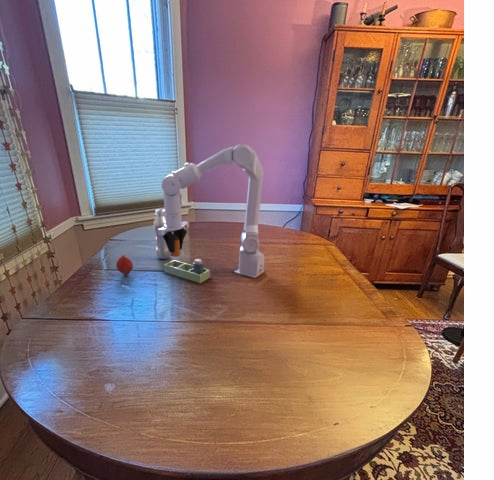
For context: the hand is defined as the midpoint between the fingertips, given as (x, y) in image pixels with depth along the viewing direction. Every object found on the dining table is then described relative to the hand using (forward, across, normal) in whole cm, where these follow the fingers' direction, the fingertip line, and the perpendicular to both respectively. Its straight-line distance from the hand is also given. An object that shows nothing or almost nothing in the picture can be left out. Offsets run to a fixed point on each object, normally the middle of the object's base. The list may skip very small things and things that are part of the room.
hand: (175, 250), depth 112 cm
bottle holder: (+9, +1, +6) cm, 10 cm away
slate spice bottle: (+8, +1, +11) cm, 14 cm away
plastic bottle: (+9, -8, -14) cm, 19 cm away
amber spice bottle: (+2, 0, 0) cm, 2 cm away
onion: (+9, +14, -13) cm, 21 cm away
